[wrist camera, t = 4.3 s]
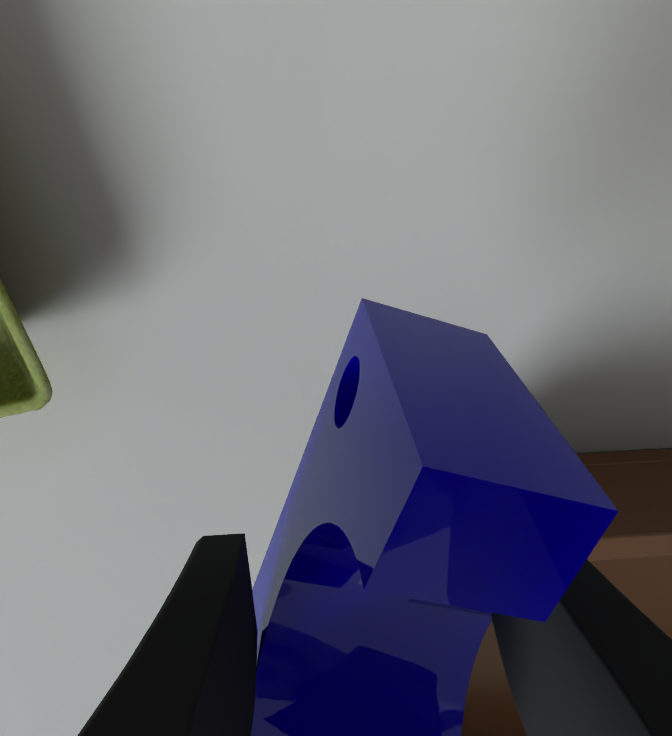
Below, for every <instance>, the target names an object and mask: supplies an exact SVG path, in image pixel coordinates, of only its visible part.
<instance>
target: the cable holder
mask: <svg viewBox="0 0 672 736" xmlns="http://www.w3.org/2000/svg"><path fill="white" fill-rule="evenodd" d="M617 513H618V510H617V508H616V507H615V506H614V504H613V503H612V502H611V500H610V499H609V497H608V496H607V495H606V493H605V492H604V491H603V489H602V488H601V487H600V485H599V484H598V483H597V481H596V480H595V479H594V477H593V476H592V475H591V473H590V472H589V471H588V469H587V468H586V467H585V465H584V464H583V463H582V461H581V460H580V459H579V457H578V456H577V455H576V453H575V452H574V451H573V449H572V448H571V447H570V445H569V444H568V443H567V441H566V440H565V438H564V437H563V436H562V434H561V433H560V432H559V430H558V429H557V428H556V426H555V425H554V424H553V422H552V421H551V420H550V418H549V417H548V416H547V414H546V413H545V412H544V410H543V409H542V408H541V406H540V405H539V404H538V402H537V401H536V400H535V398H534V397H533V396H532V394H531V393H530V392H529V390H528V389H527V388H526V386H525V385H524V384H523V382H522V381H521V379H520V378H519V377H518V375H517V374H516V373H515V371H514V370H513V369H512V367H511V366H510V365H509V363H508V362H507V361H506V359H505V358H504V357H503V355H502V354H501V353H500V351H499V350H498V349H497V347H496V346H495V345H494V343H493V342H492V341H491V339H490V338H489V337H488V335H487V334H484V333H480V332H477V331H473V330H470V329H466V328H463V327H459V326H456V325H452V324H449V323H446V322H442V321H439V320H435V319H432V318H428V317H425V316H421V315H418V314H415V313H411V312H408V311H404V310H401V309H397V308H394V307H390V306H387V305H383V304H380V303H377V302H373V301H370V300H366V299H363V298H362V299H361V302H360V305H359V307H358V310H357V313H356V315H355V318H354V321H353V323H352V326H351V329H350V331H349V334H348V337H347V339H346V342H345V345H344V347H343V350H342V353H341V355H340V358H339V361H338V363H337V366H336V369H335V371H334V374H333V377H332V379H331V382H330V385H329V387H328V390H327V393H326V395H325V398H324V401H323V403H322V406H321V409H320V411H319V414H318V417H317V419H316V422H315V425H314V427H313V430H312V433H311V435H310V438H309V441H308V443H307V446H306V449H305V451H304V454H303V457H302V459H301V462H300V465H299V467H298V470H297V473H296V475H295V478H294V481H293V483H292V486H291V489H290V491H289V494H288V497H287V499H286V502H285V504H284V507H283V510H282V512H281V515H280V518H279V520H278V523H277V526H276V528H275V531H274V534H273V536H272V539H271V542H270V544H269V547H268V550H267V552H266V555H265V558H264V560H263V563H262V566H261V568H260V571H259V574H258V576H257V579H256V582H255V584H254V587H253V590H252V593H253V600H254V608H255V615H256V623H257V630H258V633H257V667H256V695H255V707H254V715H253V723H252V730H251V736H462V725H463V715H464V708H465V701H466V695H467V690H468V685H469V680H470V676H471V673H472V669H473V665H474V662H475V659H476V656H477V653H478V650H479V647H480V645H481V642H482V640H483V637H484V635H485V633H486V631H487V629H488V627H489V625H490V623H491V621H492V618H491V613H496V614H501V615H507V616H513V617H518V618H524V619H530V620H535V621H541V622H546V620H547V619H548V617H549V616H550V614H551V613H552V611H553V609H554V608H555V606H556V605H557V603H558V602H559V600H560V599H561V597H562V596H563V594H564V593H565V591H566V590H567V588H568V587H569V585H570V584H571V582H572V581H573V579H574V578H575V576H576V575H577V573H578V572H579V570H580V569H581V567H582V566H583V564H584V563H585V561H586V560H587V558H588V557H589V555H590V554H591V552H592V551H593V549H594V548H595V546H596V545H597V543H598V542H599V540H600V539H601V537H602V536H603V534H604V533H605V531H606V530H607V528H608V527H609V525H610V524H611V522H612V521H613V519H614V518H615V516H616V514H617Z"/></svg>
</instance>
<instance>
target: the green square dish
mask: <svg viewBox="0 0 672 736" xmlns="http://www.w3.org/2000/svg"><path fill="white" fill-rule="evenodd" d="M51 396H52V388H51V385H50V382H49V379H48V377H47V374H46V372H45V370H44V368H43V365H42V363H41V361H40V359H39V357H38V355H37V353H36V351H35V349H34V347H33V345H32V343H31V341H30V339H29V336H28V334H27V332H26V330H25V328H24V326H23V324H22V322H21V320H20V318H19V316H18V314H17V312H16V310H15V308H14V306H13V304H12V302H11V300H10V298H9V295H8V293H7V291H6V289H5V287H4V285H3V283H2V281H1V279H0V417H4V416H11V415H15V414H20V413H24V412H27V411H33V410H39V409H41V408H42V407H43V406H45V405H46V404H47V403H48V402H49V401H50V399H51Z"/></svg>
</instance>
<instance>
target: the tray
mask: <svg viewBox="0 0 672 736" xmlns="http://www.w3.org/2000/svg"><path fill="white" fill-rule="evenodd" d="M576 455H577V456H578V457H579V459H580V460H581V461H582V463H583V464H584V465H585V467H586V468H587V469H588V471H589V472H590V473H591V475H592V476H593V477H594V479H595V480H596V481H597V483H598V484H599V485H600V487H601V488H602V489H603V491H604V492H605V493H606V495H607V496H608V497H609V499H610V500H611V502H612V503H613V504H614V506H615V507H616V508H617V510H618V513H617V514H616V516H615V518H614V519H613V521H612V522H611V524H610V525H609V527H608V528H607V530H606V531H605V533H604V534H603V536H602V537H601V539H600V540H599V542H598V543H597V545H596V546H595V548H594V549H593V551H592V552H591V554H590V555H589V557H588V558H587V559H588V560H589V561H590V562H591V563H592V564H593V565H594V566H595V567H596V568H597V569H598V570H599V571H600V572H601V573H602V574H603V575H604V576H605V577H606V578H607V579H608V580H609V581H610V582H611V583H612V584H613V585H614V586H615V587H616V588H617V589H618V590H619V591H621V592H622V593H623V594H624V595H625V596H626V597H627V598H628V599H629V600H630V601H631V602H632V603H633V604H634V605H635V606H636V607H637V608H639V609H640V610H641V611H642V612H643V613H644V614H645V615H646V616H647V617H648V618H649V619H650V620H652V621H653V622H654V623H655V624H656V625H657V626H658V627H659V628H660V629H661V630H662V631H663V632H665V633H666V634H667V635H668V636H669V637H670V638H671V639H672V448H670V449H653V450H636V451H618V452H601V453H584V454H576ZM462 736H527V734H526V732H525V729H524V726H523V723H522V721H521V718H520V715H519V713H518V710H517V707H516V704H515V702H514V699H513V696H512V693H511V690H510V688H509V685H508V682H507V678H506V674H505V670H504V666H503V662H502V659H501V655H500V651H499V647H498V642H497V638H496V634H495V630H494V626H493V622H492V621H491V623H490V625H489V627H488V629H487V631H486V633H485V635H484V637H483V640H482V642H481V645H480V647H479V650H478V653H477V656H476V659H475V662H474V665H473V669H472V673H471V676H470V680H469V685H468V690H467V695H466V701H465V708H464V715H463V725H462Z"/></svg>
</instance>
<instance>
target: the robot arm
mask: <svg viewBox="0 0 672 736" xmlns="http://www.w3.org/2000/svg"><path fill="white" fill-rule="evenodd" d="M491 618H492V622H493V626H494V630H495V634H496V638H497V642H498V647H499V651H500V655H501V659H502V662H503V666H504V670H505V674H506V678H507V682H508V685H509V688H510V690H511V693H512V696H513V699H514V702H515V704H516V707H517V710H518V713H519V715H520V718H521V721H522V723H523V726H524V729H525V732H526V734H527V736H672V639H671V638H670V637H669V636H668V635H667V634H666V633H665V632H663V631H662V630H661V629H660V628H659V627H658V626H657V625H656V624H655V623H654V622H653V621H652V620H650V619H649V618H648V617H647V616H646V615H645V614H644V613H643V612H642V611H641V610H640V609H639V608H637V607H636V606H635V605H634V604H633V603H632V602H631V601H630V600H629V599H628V598H627V597H626V596H625V595H624V594H623V593H622V592H621V591H619V590H618V589H617V588H616V587H615V586H614V585H613V584H612V583H611V582H610V581H609V580H608V579H607V578H606V577H605V576H604V575H603V574H602V573H601V572H600V571H599V570H598V569H597V568H596V567H595V566H594V565H593V564H592V563H591V562H590V561H589V560H588V559H587V560H586V561H585V563H584V564H583V566H582V567H581V569H580V570H579V572H578V573H577V575H576V576H575V578H574V579H573V581H572V582H571V584H570V585H569V587H568V588H567V590H566V591H565V593H564V594H563V596H562V597H561V599H560V600H559V602H558V603H557V605H556V606H555V608H554V609H553V611H552V613H551V614H550V616H549V617H548V619H547V620H546V622H541V621H535V620H530V619H524V618H518V617H513V616H507V615H501V614H496V613H491ZM257 633H258V630H257V623H256V615H255V608H254V600H253V593H252V585H251V578H250V571H249V563H248V556H247V548H246V541H245V533H244V534H228V535H213V536H203V537H202V538H201V539H200V540H199V541H197V542H196V544H195V546H194V548H193V550H192V552H191V555H190V556H189V558H188V560H187V562H186V564H185V566H184V568H183V570H182V572H181V574H180V576H179V577H178V579H177V581H176V583H175V585H174V587H173V588H172V590H171V592H170V594H169V595H168V597H167V599H166V601H165V602H164V604H163V606H162V607H161V609H160V611H159V613H158V614H157V616H156V618H155V619H154V621H153V623H152V624H151V626H150V627H149V629H148V631H147V632H146V634H145V635H144V637H143V639H142V640H141V642H140V644H139V645H138V647H137V648H136V650H135V652H134V653H133V655H132V656H131V658H130V660H129V661H128V663H127V664H126V666H125V667H124V669H123V670H122V672H121V674H120V675H119V677H118V678H117V679H116V681H115V682H114V684H113V685H112V687H111V688H110V690H109V691H108V692H107V694H106V695H105V697H104V698H103V700H102V701H101V703H100V704H99V705H98V707H97V708H96V710H95V711H94V713H93V714H92V716H91V717H90V719H89V720H88V721H87V723H86V724H85V726H84V727H83V729H82V730H81V731H80V733H79V734H78V736H251V730H252V723H253V715H254V707H255V695H256V667H257Z"/></svg>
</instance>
